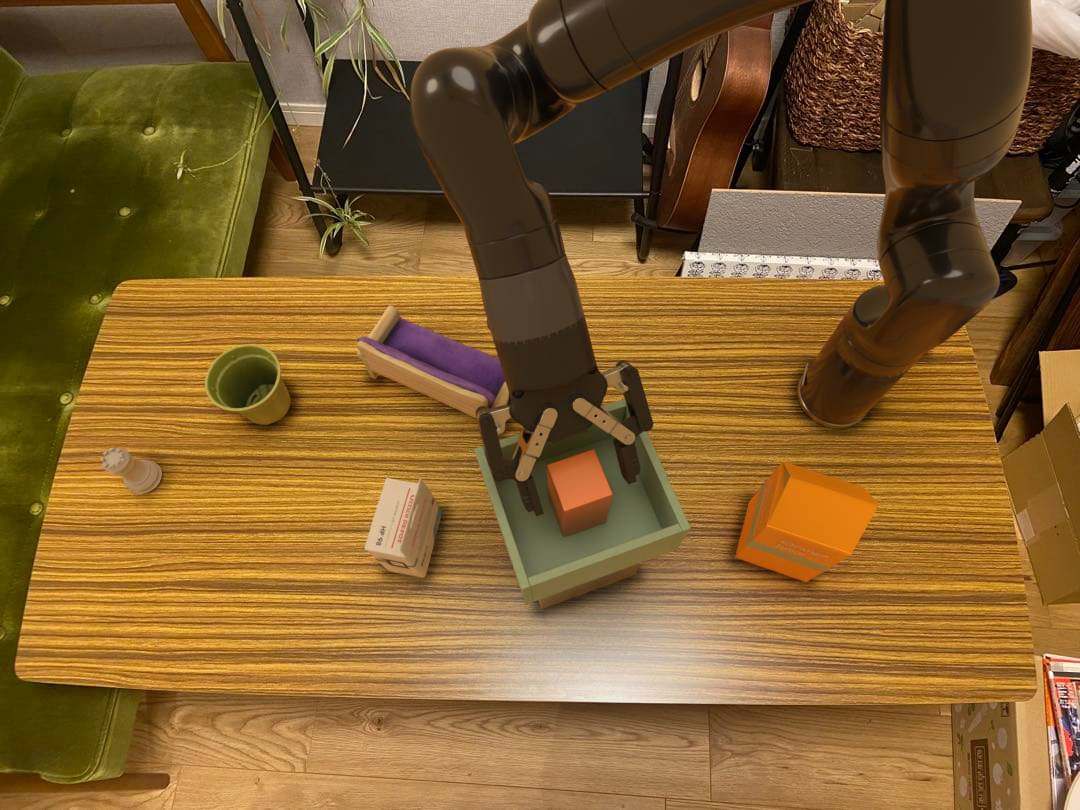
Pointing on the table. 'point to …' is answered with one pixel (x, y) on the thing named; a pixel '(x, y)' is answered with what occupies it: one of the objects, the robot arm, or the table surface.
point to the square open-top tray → (624, 540)
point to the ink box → (404, 527)
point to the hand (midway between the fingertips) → (584, 495)
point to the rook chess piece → (132, 470)
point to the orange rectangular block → (579, 492)
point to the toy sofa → (433, 364)
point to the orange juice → (803, 522)
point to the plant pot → (248, 384)
